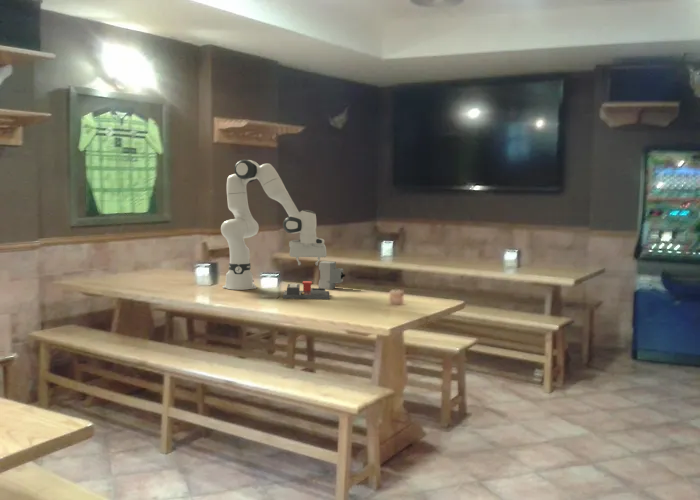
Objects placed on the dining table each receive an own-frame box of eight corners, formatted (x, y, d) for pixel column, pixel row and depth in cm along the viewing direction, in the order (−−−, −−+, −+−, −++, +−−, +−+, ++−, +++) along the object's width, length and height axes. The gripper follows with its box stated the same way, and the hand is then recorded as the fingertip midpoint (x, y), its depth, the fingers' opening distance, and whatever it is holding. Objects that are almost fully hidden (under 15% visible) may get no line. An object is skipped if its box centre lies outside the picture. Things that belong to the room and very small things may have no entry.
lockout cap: (302, 291, 377) (302, 281, 376) (311, 292, 377) (311, 281, 377) (302, 293, 372) (302, 282, 371) (311, 293, 372) (311, 282, 372)
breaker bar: (290, 289, 366) (290, 283, 366) (297, 289, 367) (297, 283, 366) (289, 292, 356) (289, 286, 355) (296, 292, 356) (296, 286, 355)
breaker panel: (284, 294, 368) (284, 283, 368) (329, 294, 369) (329, 284, 369) (283, 298, 354) (283, 287, 354) (329, 299, 355) (329, 288, 355)
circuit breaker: (342, 290, 387) (343, 263, 386) (318, 288, 390) (318, 262, 388) (345, 288, 394) (346, 262, 393) (321, 286, 397) (322, 261, 396)
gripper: (288, 240, 368) (288, 265, 369) (326, 240, 369) (326, 266, 370) (289, 239, 374) (289, 264, 376) (326, 239, 375) (326, 264, 377)
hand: (308, 265), depth 373 cm, fingers open, 8 cm apart
